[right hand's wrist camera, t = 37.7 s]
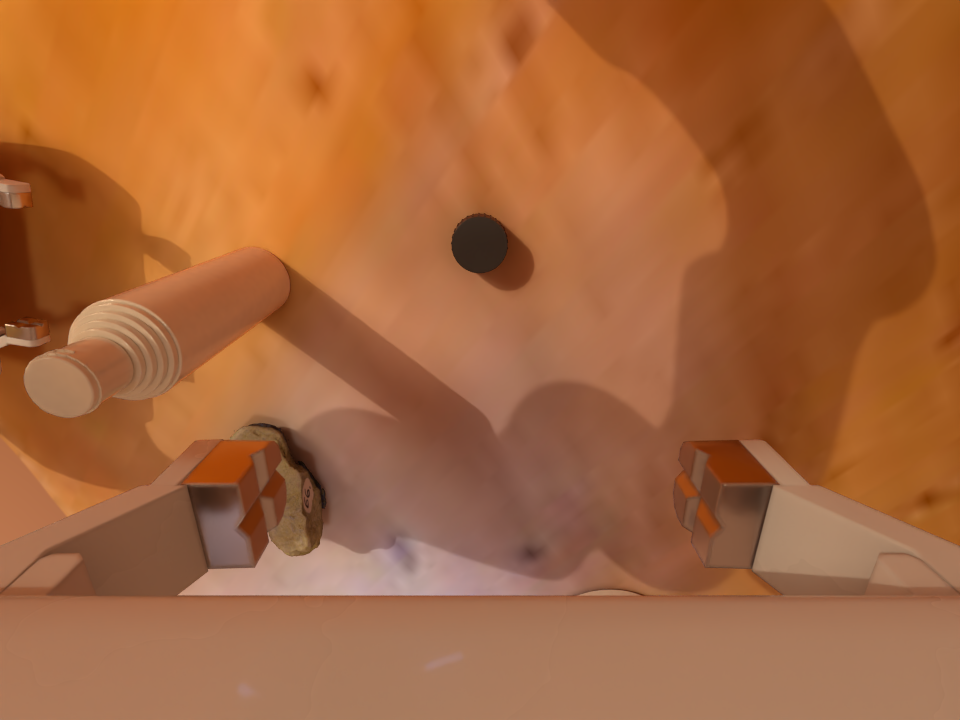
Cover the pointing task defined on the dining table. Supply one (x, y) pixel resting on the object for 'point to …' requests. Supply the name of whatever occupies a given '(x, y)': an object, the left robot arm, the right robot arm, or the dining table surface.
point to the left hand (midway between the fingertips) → (34, 268)
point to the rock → (292, 496)
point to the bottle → (157, 332)
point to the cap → (479, 243)
